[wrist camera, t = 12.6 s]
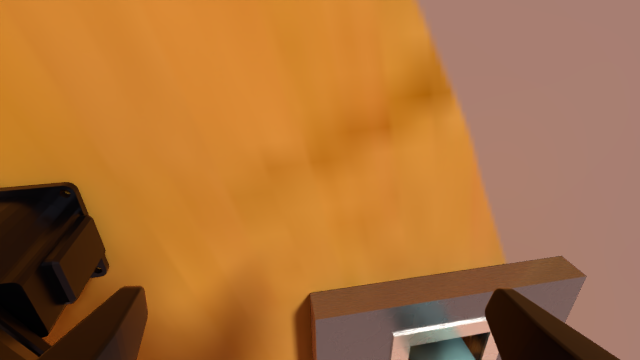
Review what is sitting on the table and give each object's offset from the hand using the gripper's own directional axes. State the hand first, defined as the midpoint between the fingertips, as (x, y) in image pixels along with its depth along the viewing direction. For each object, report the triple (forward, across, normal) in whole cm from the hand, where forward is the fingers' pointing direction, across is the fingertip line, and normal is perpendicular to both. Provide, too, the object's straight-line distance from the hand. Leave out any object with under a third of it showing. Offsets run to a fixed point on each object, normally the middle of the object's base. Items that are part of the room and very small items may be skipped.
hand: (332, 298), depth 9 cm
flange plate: (+13, -14, +20) cm, 27 cm away
